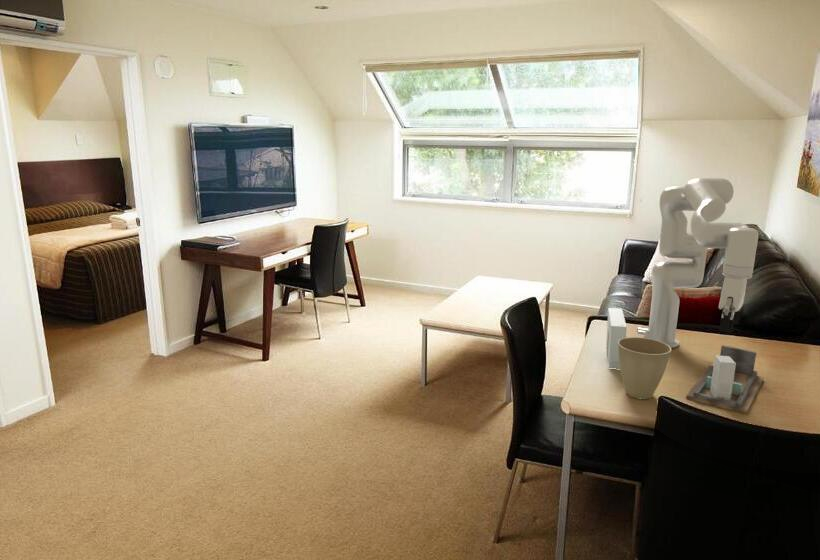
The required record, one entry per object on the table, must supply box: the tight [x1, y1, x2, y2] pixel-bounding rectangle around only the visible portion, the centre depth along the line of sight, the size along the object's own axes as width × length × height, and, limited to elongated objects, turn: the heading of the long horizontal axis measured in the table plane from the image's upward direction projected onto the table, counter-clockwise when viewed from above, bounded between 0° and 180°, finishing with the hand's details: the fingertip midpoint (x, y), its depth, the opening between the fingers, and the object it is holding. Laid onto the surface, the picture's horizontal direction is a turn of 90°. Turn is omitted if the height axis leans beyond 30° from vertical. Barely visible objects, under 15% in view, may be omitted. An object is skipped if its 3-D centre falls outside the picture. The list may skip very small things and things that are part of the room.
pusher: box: [706, 376, 742, 396], centre depth 174 cm, size 9×1×4 cm, turn 51°
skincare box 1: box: [605, 307, 627, 369], centre depth 201 cm, size 21×6×16 cm, turn 164°
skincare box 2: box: [710, 354, 736, 401], centre depth 170 cm, size 6×4×12 cm
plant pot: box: [618, 336, 672, 400], centre depth 174 cm, size 15×15×16 cm
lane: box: [686, 344, 764, 415], centre depth 178 cm, size 16×30×9 cm, turn 141°
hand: (729, 327), depth 168 cm, fingers open, 9 cm apart
